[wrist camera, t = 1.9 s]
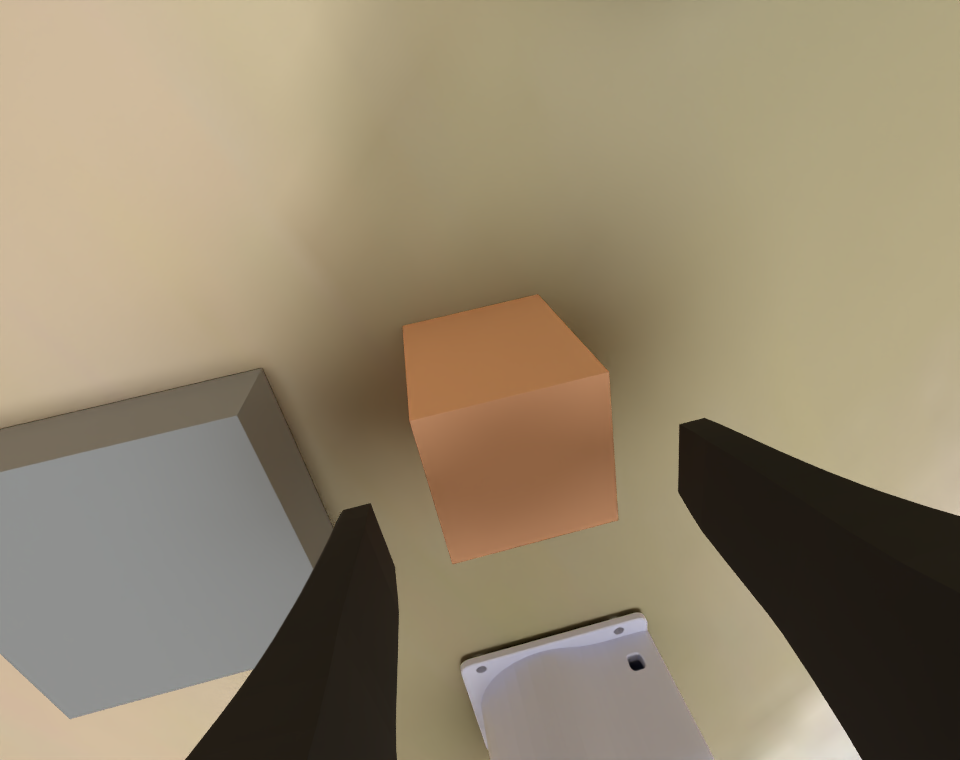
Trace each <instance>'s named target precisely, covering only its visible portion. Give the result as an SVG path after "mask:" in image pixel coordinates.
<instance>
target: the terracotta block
mask: <svg viewBox="0 0 960 760" xmlns="http://www.w3.org/2000/svg"><path fill="white" fill-rule="evenodd" d="M402 327H403V341H404V354H405V368H406V381H407V395H408V408H409V421H410V425H411V428H412V431H413V435H414V438H415V441H416V445H417V448H418V451H419V455H420V458H421V461H422V464H423V468H424V471H425V474H426V478H427V481H428V484H429V488H430V491H431V494H432V498H433V501H434V504H435V508H436V511H437V514H438V518H439V521H440V524H441V528H442V531H443V534H444V538H445V541H446V544H447V548H448V551H449V554H450V558H451V561H452V564H456V563H460V562H463V561H467V560H471V559H475V558H478V557H482V556H486V555H490V554H493V553H497V552H501V551H505V550H508V549H512V548H516V547H520V546H524V545H527V544H531V543H535V542H539V541H542V540H546V539H550V538H554V537H557V536H561V535H565V534H569V533H572V532H576V531H580V530H584V529H587V528H591V527H595V526H599V525H602V524H606V523H610V522H614V521H618V506H617V491H616V475H615V459H614V443H613V427H612V411H611V395H610V380H609V371H608V370H607V369H606V368H605V367H604V366H603V365H602V364H601V363H600V362H599V360H598V359H597V358H596V357H595V356H594V355H593V354H592V353H591V352H590V351H589V350H588V348H587V347H586V346H585V345H584V344H583V343H582V342H581V341H580V340H579V339H578V337H577V336H576V335H575V334H574V333H573V332H572V331H571V330H570V329H569V328H568V327H567V325H566V324H565V323H564V322H563V321H562V320H561V319H560V318H559V317H558V316H557V315H556V313H555V312H554V311H553V310H552V309H551V308H550V307H549V306H548V305H547V304H546V302H545V301H544V300H543V299H542V298H541V297H540V296H539V295H538V294H537V295H532V296H528V297H524V298H519V299H515V300H511V301H507V302H502V303H498V304H494V305H489V306H485V307H481V308H477V309H472V310H468V311H464V312H459V313H455V314H451V315H447V316H442V317H438V318H434V319H430V320H425V321H421V322H417V323H412V324H408V325H404V326H402Z"/></svg>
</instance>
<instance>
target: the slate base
mask: <svg viewBox="0 0 960 760" xmlns="http://www.w3.org/2000/svg"><path fill="white" fill-rule="evenodd" d="M332 531H333V527H332V524H331V522H330V520H329V518H328V515H327V513H326V511H325V509H324V506H323V504H322V502H321V500H320V497H319V495H318V493H317V491H316V488H315V486H314V484H313V482H312V479H311V477H310V475H309V473H308V470H307V468H306V466H305V464H304V461H303V459H302V457H301V455H300V452H299V450H298V448H297V446H296V443H295V441H294V439H293V437H292V434H291V432H290V430H289V428H288V425H287V423H286V421H285V419H284V416H283V414H282V412H281V410H280V407H279V405H278V403H277V401H276V398H275V396H274V394H273V391H272V389H271V387H270V385H269V382H268V380H267V378H266V376H265V373H264V371H263V369H262V368H260V369H256V370H252V371H247V372H243V373H239V374H235V375H230V376H226V377H222V378H218V379H213V380H209V381H205V382H200V383H196V384H192V385H188V386H183V387H179V388H175V389H171V390H166V391H162V392H158V393H153V394H149V395H145V396H141V397H136V398H132V399H128V400H124V401H119V402H115V403H111V404H106V405H102V406H98V407H94V408H89V409H85V410H81V411H77V412H72V413H68V414H64V415H60V416H55V417H51V418H47V419H42V420H38V421H34V422H30V423H25V424H21V425H17V426H13V427H8V428H4V429H0V654H1V655H2V656H3V657H4V658H5V659H6V660H7V661H8V662H10V663H11V664H12V665H13V666H14V667H15V668H16V669H17V670H18V671H19V672H20V673H21V674H22V675H23V676H24V677H25V678H27V679H28V680H29V681H30V682H31V683H32V684H33V685H34V686H35V687H36V688H37V689H38V690H39V691H40V692H41V693H43V694H44V695H45V696H46V697H47V698H48V699H49V700H50V701H51V702H52V703H53V704H54V705H55V706H56V707H57V708H59V709H60V710H61V711H62V712H63V713H64V714H65V715H66V716H67V717H68V718H69V719H72V718H75V717H79V716H83V715H86V714H90V713H94V712H97V711H101V710H105V709H108V708H112V707H116V706H119V705H123V704H127V703H130V702H134V701H138V700H141V699H145V698H149V697H152V696H156V695H160V694H163V693H167V692H171V691H175V690H178V689H182V688H186V687H189V686H193V685H197V684H200V683H204V682H208V681H211V680H215V679H219V678H222V677H226V676H230V675H233V674H237V673H241V672H244V671H248V670H252V669H254V668H255V666H256V665H257V663H258V662H259V660H260V659H261V657H262V656H263V654H264V653H265V651H266V650H267V648H268V646H269V645H270V643H271V642H272V640H273V639H274V637H275V635H276V634H277V632H278V630H279V629H280V627H281V625H282V624H283V622H284V620H285V619H286V617H287V615H288V614H289V612H290V610H291V609H292V607H293V605H294V604H295V602H296V600H297V598H298V597H299V595H300V593H301V591H302V589H303V587H304V585H305V584H306V582H307V580H308V578H309V576H310V574H311V572H312V571H313V569H314V567H315V565H316V563H317V561H318V559H319V557H320V555H321V553H322V551H323V549H324V547H325V545H326V543H327V541H328V539H329V537H330V535H331V533H332Z"/></svg>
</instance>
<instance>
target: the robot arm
mask: <svg viewBox="0 0 960 760" xmlns="http://www.w3.org/2000/svg"><path fill="white" fill-rule="evenodd" d="M678 492H679V494H680V496H681V498H682V499H683V501H684V503H685V504H686V506H687V508H688V510H689V511H690V513H691V515H692V516H693V518H694V519H695V521H696V523H697V524H698V526H699V527H700V529H701V530H702V532H703V533H704V534H705V536H706V537H707V538H708V539H709V541H710V542H711V543H712V545H713V546H714V547H715V548H716V550H717V551H718V552H719V553H720V555H721V556H722V557H723V558H724V560H725V561H726V562H727V563H728V565H729V566H730V567H731V568H732V570H733V571H734V572H735V573H736V575H737V576H738V577H739V578H740V580H741V581H742V582H743V583H744V585H745V586H746V587H747V588H748V590H749V591H750V592H751V593H752V595H753V596H754V597H755V598H756V600H757V601H758V602H759V603H760V605H761V606H762V607H763V608H764V610H765V611H766V612H767V613H768V615H769V616H770V617H771V619H772V620H773V621H774V623H775V624H776V626H777V627H778V628H779V630H780V631H781V632H782V634H783V635H784V637H785V638H786V640H787V641H788V643H789V644H790V646H791V647H792V649H793V650H794V652H795V653H796V655H797V656H798V658H799V659H800V661H801V662H802V664H803V665H804V667H805V668H806V670H807V671H808V673H809V674H810V676H811V677H812V679H813V681H814V682H815V684H816V685H817V687H818V688H819V690H820V692H821V693H822V695H823V696H824V698H825V700H826V701H827V703H828V704H829V706H830V708H831V709H832V711H833V712H834V714H835V716H836V717H837V719H838V720H839V722H840V724H841V725H842V727H843V728H844V730H845V732H846V733H847V735H848V737H849V738H850V740H851V742H852V743H853V745H854V747H855V748H856V750H857V752H858V753H859V755H860V757H861V759H862V760H960V516H957V515H954V514H950V513H947V512H944V511H940V510H937V509H933V508H930V507H927V506H924V505H920V504H917V503H914V502H911V501H908V500H905V499H902V498H899V497H896V496H893V495H890V494H887V493H884V492H881V491H878V490H875V489H872V488H869V487H867V486H864V485H861V484H859V483H856V482H853V481H851V480H848V479H846V478H843V477H840V476H838V475H835V474H833V473H830V472H828V471H825V470H823V469H820V468H818V467H815V466H813V465H811V464H808V463H806V462H803V461H801V460H799V459H796V458H794V457H792V456H790V455H787V454H785V453H783V452H780V451H778V450H776V449H774V448H771V447H769V446H767V445H765V444H763V443H760V442H758V441H756V440H754V439H752V438H749V437H747V436H745V435H743V434H741V433H738V432H736V431H734V430H732V429H729V428H727V427H725V426H723V425H720V424H718V423H716V422H713V421H711V420H708V419H706V418H703V419H699V420H695V421H691V422H687V423H683V424H679V477H678ZM398 625H399V608H398V595H397V584H396V574H395V566H394V563H393V561H392V558H391V555H390V553H389V550H388V548H387V545H386V542H385V540H384V537H383V535H382V532H381V529H380V527H379V524H378V522H377V519H376V516H375V514H374V511H373V508H372V506H371V503H370V504H366V505H362V506H358V507H354V508H350V509H346V510H343V511H342V513H341V514H340V516H339V518H338V520H337V522H336V524H335V526H334V529H333V531H332V533H331V535H330V537H329V539H328V541H327V543H326V545H325V547H324V549H323V551H322V553H321V555H320V557H319V559H318V561H317V563H316V565H315V567H314V569H313V571H312V572H311V574H310V576H309V578H308V580H307V582H306V584H305V585H304V587H303V589H302V591H301V593H300V595H299V597H298V598H297V600H296V602H295V604H294V605H293V607H292V609H291V610H290V612H289V614H288V615H287V617H286V619H285V620H284V622H283V624H282V625H281V627H280V629H279V630H278V632H277V634H276V635H275V637H274V639H273V640H272V642H271V643H270V645H269V646H268V648H267V650H266V651H265V653H264V654H263V656H262V657H261V659H260V660H259V662H258V663H257V665H256V666H255V668H254V669H253V671H252V672H251V673H250V675H249V676H248V678H247V679H246V681H245V682H244V684H243V685H242V686H241V688H240V689H239V691H238V692H237V693H236V695H235V696H234V697H233V699H232V700H231V701H230V703H229V704H228V705H227V707H226V708H225V709H224V711H223V712H222V713H221V715H220V716H219V717H218V719H217V720H216V721H215V722H214V724H213V725H212V726H211V728H210V729H209V730H208V731H207V733H206V734H205V735H204V737H203V738H202V739H201V740H200V742H199V743H198V744H197V745H196V747H195V748H194V749H193V751H192V752H191V753H190V754H189V756H188V757H187V758H186V759H185V760H397V754H396V696H397V663H398ZM461 675H462V677H463V680H464V683H465V686H466V689H467V692H468V695H469V698H470V701H471V704H472V707H473V710H474V713H475V716H476V719H477V722H478V725H479V728H480V731H481V734H482V737H483V740H484V742H485V745H486V748H487V749H488V750H489V757H490V760H715V759H714V757H713V755H712V753H711V751H710V749H709V747H708V745H707V743H706V741H705V740H704V738H703V736H702V734H701V732H700V730H699V728H698V726H697V724H696V722H695V720H694V718H693V716H692V715H691V713H690V711H689V709H688V707H687V705H686V703H685V701H684V699H683V697H682V695H681V693H680V692H679V690H678V688H677V686H676V684H675V682H674V680H673V678H672V676H671V674H670V672H669V670H668V668H667V667H666V665H665V663H664V661H663V659H662V657H661V655H660V653H659V651H658V649H657V647H656V645H655V643H654V642H653V640H652V638H651V636H650V634H649V632H648V631H647V620H646V618H645V616H644V614H642V613H638V612H637V613H632V614H628V615H625V616H621V617H618V618H614V619H610V620H607V621H603V622H600V623H596V624H592V625H589V626H585V627H582V628H578V629H575V630H571V631H567V632H564V633H560V634H557V635H553V636H549V637H546V638H542V639H539V640H535V641H531V642H528V643H524V644H521V645H517V646H514V647H510V648H506V649H503V650H499V651H496V652H492V653H488V654H485V655H481V656H478V657H474V658H471V659H468V660H465V661H464V662H463V663H462V664H461Z"/></svg>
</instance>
